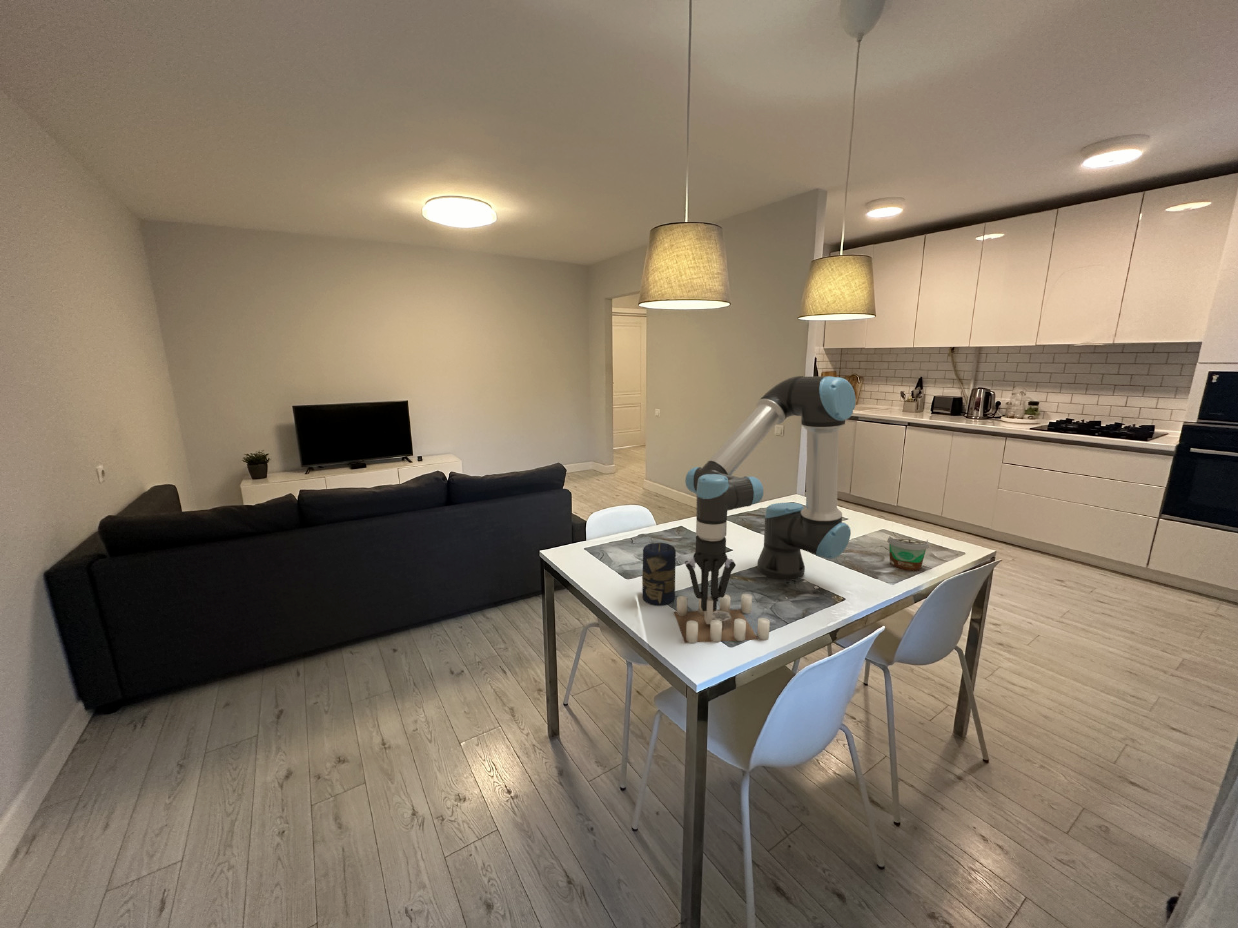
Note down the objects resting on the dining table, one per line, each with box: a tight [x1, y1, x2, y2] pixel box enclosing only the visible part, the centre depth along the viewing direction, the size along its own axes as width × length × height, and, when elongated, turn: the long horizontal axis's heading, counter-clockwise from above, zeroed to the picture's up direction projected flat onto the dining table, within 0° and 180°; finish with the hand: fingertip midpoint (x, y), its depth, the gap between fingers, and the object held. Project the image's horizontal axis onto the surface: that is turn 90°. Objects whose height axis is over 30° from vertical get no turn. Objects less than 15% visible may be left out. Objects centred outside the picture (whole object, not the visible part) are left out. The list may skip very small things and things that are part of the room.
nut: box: [713, 609, 731, 630], centre depth 125 cm, size 5×6×3 cm
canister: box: [641, 542, 677, 607], centre depth 138 cm, size 10×10×18 cm
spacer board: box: [673, 608, 759, 644], centre depth 126 cm, size 26×15×1 cm, turn 94°
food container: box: [887, 535, 930, 572], centre depth 160 cm, size 12×6×10 cm, turn 70°
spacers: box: [676, 593, 771, 644], centre depth 125 cm, size 21×16×5 cm
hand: (708, 621), depth 125 cm, fingers closed
